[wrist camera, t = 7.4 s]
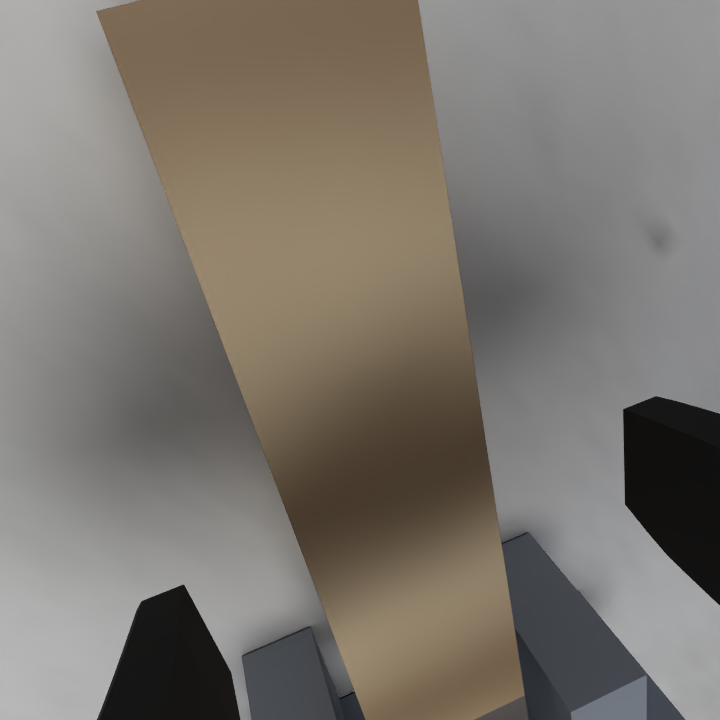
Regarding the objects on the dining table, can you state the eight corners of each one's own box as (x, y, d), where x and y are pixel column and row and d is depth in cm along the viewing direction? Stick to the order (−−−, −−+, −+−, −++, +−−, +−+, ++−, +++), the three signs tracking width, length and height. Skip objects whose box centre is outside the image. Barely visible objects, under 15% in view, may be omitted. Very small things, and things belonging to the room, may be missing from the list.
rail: (117, 36, 10) (96, 11, 6) (314, -12, 11) (408, -63, 7) (341, 640, 18) (395, 798, 14) (449, 592, 18) (530, 732, 14)
